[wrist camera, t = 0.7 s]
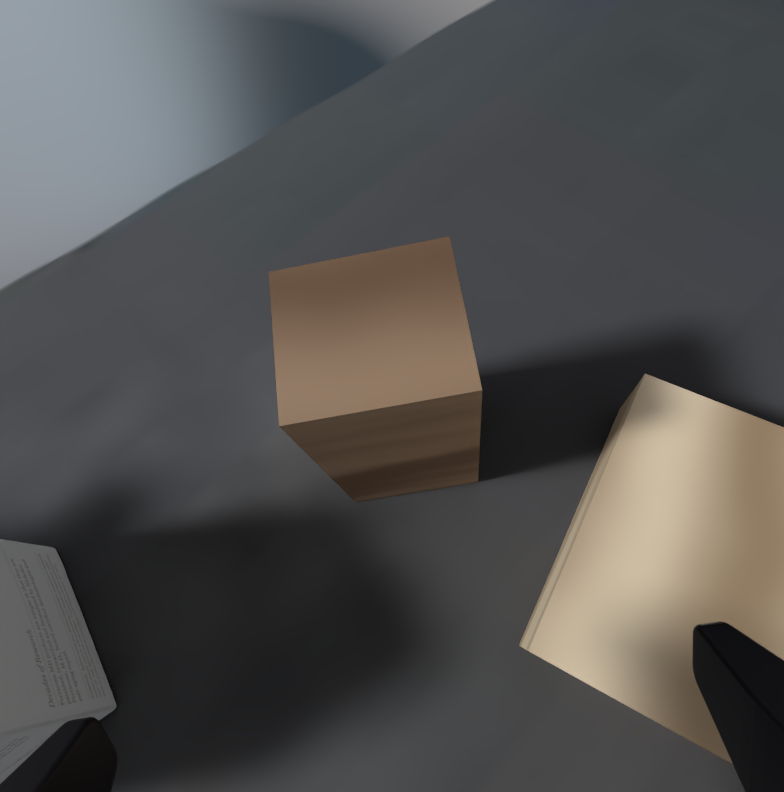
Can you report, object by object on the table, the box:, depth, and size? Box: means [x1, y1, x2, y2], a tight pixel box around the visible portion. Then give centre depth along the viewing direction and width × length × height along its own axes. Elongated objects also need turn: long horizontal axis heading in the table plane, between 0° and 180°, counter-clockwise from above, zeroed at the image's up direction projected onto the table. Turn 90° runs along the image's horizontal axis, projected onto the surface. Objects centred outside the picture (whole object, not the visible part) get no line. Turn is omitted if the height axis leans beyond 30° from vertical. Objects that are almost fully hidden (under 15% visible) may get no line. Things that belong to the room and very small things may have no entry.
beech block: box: [519, 374, 784, 764], centre depth 19 cm, size 10×10×4 cm
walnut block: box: [269, 237, 482, 502], centre depth 19 cm, size 4×5×10 cm
